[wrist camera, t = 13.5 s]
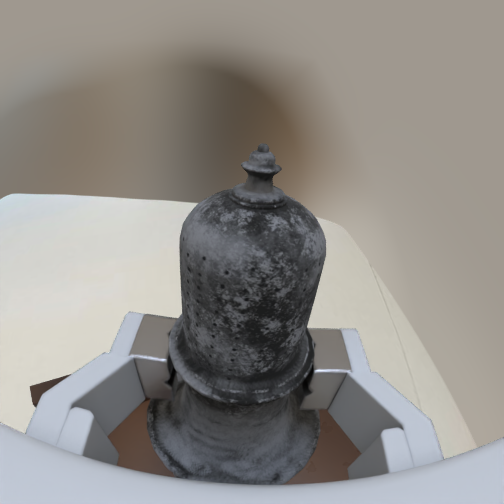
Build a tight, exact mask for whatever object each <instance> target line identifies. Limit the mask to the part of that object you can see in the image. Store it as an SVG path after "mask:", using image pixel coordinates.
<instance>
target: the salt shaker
mask: <svg viewBox="0 0 504 504" xmlns="http://www.w3.org/2000/svg"><path fill="white" fill-rule="evenodd" d="M241 166H242V167H243V169H244V170H245V171H246V172H247V173H248V178H247V181H246V183H242V184H238V185H236V186H235V187H234V188H233V189H228V190H224V191H221V192H219V193H216V194H214V195H212V196H211V197H209V198H206V199H205V200H203V201H202V202H200V203H199V204H197V205H196V207H195V208H194V209H193V210H192V211H191V213H190V214H189V215H188V216H187V218H186V220H185V221H184V223H183V226H182V230H181V235H180V275H181V296H182V314H181V315H180V317H179V318H178V319H177V321H176V322H175V323H174V325H173V328H172V330H171V333H170V336H169V353H170V357H171V360H172V363H173V365H174V368H175V370H176V371H177V372H178V373H177V378H178V385H177V390H176V395H175V400H174V401H169V400H161V399H154V398H151V399H150V402H149V405H148V408H147V431H148V434H149V437H150V440H151V443H152V446H153V449H154V451H155V452H156V454H157V455H158V456H159V458H160V459H161V461H162V462H163V463H164V465H165V466H166V467H167V468H168V469H169V470H170V471H171V472H173V474H174V476H175V478H181V479H188V480H196V481H205V482H215V483H228V484H247V485H282V484H285V483H286V482H288V481H289V480H290V479H291V478H293V477H294V476H295V475H296V474H297V473H299V472H300V471H301V470H302V469H303V468H304V467H305V465H306V464H307V462H308V461H309V459H310V458H311V456H312V455H313V453H314V452H315V450H316V446H317V443H318V439H319V435H320V416H319V411H318V410H299V403H298V394H297V390H298V387H299V386H300V385H301V384H302V383H303V381H304V380H305V378H306V377H307V375H308V374H309V372H310V371H311V367H312V364H313V360H314V356H315V353H314V343H313V339H312V337H311V335H310V332H309V330H308V328H307V324H308V321H309V317H310V314H311V310H312V307H313V303H314V299H315V296H316V292H317V288H318V284H319V281H320V277H321V273H322V269H323V265H324V261H325V257H326V240H325V236H324V233H323V230H322V228H321V226H320V224H319V223H318V221H317V219H316V218H315V216H314V215H313V214H312V213H311V212H310V211H309V210H308V209H307V208H305V207H304V206H303V205H301V204H300V203H299V202H298V201H296V200H295V199H293V198H291V197H289V196H287V195H285V194H284V192H283V191H282V190H281V189H279V188H277V187H275V186H273V181H272V178H273V176H274V175H275V174H277V173H278V172H279V171H281V167H280V166H279V165H276V164H275V156H274V155H273V154H272V153H271V152H269V147H268V145H267V144H260V145H259V146H258V150H256V151H253V152H252V153H251V154H250V156H249V161H246V162H244V163H242V164H241Z"/></svg>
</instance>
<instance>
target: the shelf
mask: <svg viewBox="0 0 504 504" xmlns="http://www.w3.org/2000/svg"><path fill="white" fill-rule="evenodd" d="M70 375H71V374H70ZM70 375H67V376H63V377H60V378H57V379H53V380H50V381H46V382H43V383H40V384H36V385H33V386H30V391H31V397H32V402H33V405H34V406H35V407H37V405H38V402H39V400H40V398H41V396H42V394H43V393H45V392H46V391H48V390H49V389H51V388H52V387H54V386H55V385H57V384H58V383H60V382H61V381H63V380H64V379H66V378H67V377H69V376H70ZM150 399H151V398H147V397H145V400H144V401H143V402H142V403H141V404H140V405H139V406H138V407H137V408H136V409H135V410H134V411H133V412H132V413H131V414H130V415H129V416H128V417H127V418H126V419H125V420H124V421H123V422H122V423H121V424H120V425H119V426H117V427H116V428H115V429H114V430H113V431H112V432H111V433H110V434H109V435H108V436H107V437H108V438H109V440H110V441H111V443H112V444H113V446H114V447H115V448H116V450H117V451H118V453H119V458H118V463H117V466H120V467H124V468H128V469H132V470H137V471H141V472H146V473H151V474H156V475H162V476H168V477H174V478H175V476H174V474H173V472H171V471H170V470H169V469H168V468H167V467H166V466H165V465H164V463H163V462H162V461H161V459H160V458H159V456H158V455H157V454H156V452H155V451H154V449H153V446H152V443H151V440H150V437H149V434H148V431H147V408H148V405H149V402H150ZM318 411H319V416H320V435H319V439H318V443H317V446H316V450H315V452H314V453H313V455H312V456H311V458H310V459H309V461H308V462H307V464H306V465H305V467H304V468H303V469H302V470H301V471H300V472H299V473H297V474H296V475H295V476H294V477H293V478H291V479H290V480H289V481H288V482H286V483H285V484H282V485H292V484H311V483H324V482H334V481H343V480H349V477H348V469H347V468H348V467H349V466H350V465H351V464H352V463H353V462H354V461H355V460H356V459H357V458H358V457H359V456H360V455H361V454H362V453H361V452H360V451H359V450H358V449H357V447H356V446H355V445H354V444H353V442H352V441H351V440H350V439H349V437H348V436H347V435H346V434H345V432H344V431H343V430H342V429H341V427H340V426H339V425H338V424H337V422H336V421H335V420H334V419H333V417H332V416H331V415H330V414H329V412H328V410H318Z"/></svg>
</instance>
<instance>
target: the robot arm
mask: <svg viewBox="0 0 504 504" xmlns="http://www.w3.org/2000/svg"><path fill="white" fill-rule="evenodd" d="M177 319H178V318H172V317H164V316H158V315H151V314H142V313H136V312H130V311H129V312H128V313H127V314H126V315H125V317H124V320H123V322H122V324H121V326H120V329H119V331H118V333H117V335H116V338H115V340H114V342H113V345H112V347H111V349H110V352H109V353H105V352H104V353H102V354H101V355H100V356H98V357H97V358H95V359H94V360H92V361H91V362H89V363H88V364H86V365H85V366H83V367H82V368H80V369H79V370H77V371H76V372H74V373H73V374H71V375H70V376H69V377H67V378H66V379H64V380H63V381H61V382H60V383H58V384H57V385H55V386H54V387H52V388H51V389H49V390H48V391H46V392H45V393H43V394H42V396H41V398H40V400H39V402H38V405H37V407H36V409H35V411H34V414H33V416H32V418H31V421H30V423H29V425H28V428H27V430H26V433H25V434H24V433H22V432H20V431H18V430H16V429H13V428H11V427H9V426H7V425H5V424H3V423H1V422H0V504H504V437H503V438H500V439H498V440H496V441H494V442H491V443H489V444H486V445H484V446H481V447H478V448H476V449H473V450H470V451H468V452H465V453H462V454H459V455H456V456H453V457H450V458H447V459H444V457H443V454H442V450H441V447H440V444H439V441H438V438H437V435H436V432H435V429H434V426H433V423H432V420H431V419H430V418H428V417H427V416H426V415H425V414H424V413H423V412H422V411H420V410H419V409H418V408H417V407H416V406H415V405H413V404H412V403H411V402H410V401H409V400H408V399H407V398H405V397H404V396H403V395H402V394H401V393H400V392H399V391H397V390H396V389H395V388H394V387H393V386H392V385H391V384H389V383H388V382H387V381H386V380H385V379H384V378H383V377H381V376H380V375H379V374H378V373H377V372H371V369H370V366H369V363H368V360H367V357H366V354H365V351H364V348H363V345H362V342H361V339H360V336H359V333H358V331H357V330H356V329H331V328H308V330H309V332H310V335H311V337H312V339H313V343H314V353H315V356H314V360H313V364H312V367H311V371H310V372H309V374H308V375H307V377H306V378H305V380H304V381H303V383H302V384H301V385H300V386H299V387H298V390H297V394H298V403H299V410H328V412H329V414H330V415H331V416H332V417H333V419H334V420H335V421H336V422H337V424H338V425H339V426H340V427H341V429H342V430H343V431H344V432H345V434H346V435H347V436H348V437H349V439H350V440H351V441H352V442H353V444H354V445H355V446H356V447H357V449H358V450H359V451H360V452H361V453H362V454H361V455H360V456H359V457H358V458H357V459H356V460H355V461H354V462H353V463H352V464H351V465H350V466H349V467H348V468H347V469H348V477H349V480H343V481H334V482H324V483H311V484H292V485H247V484H228V483H215V482H205V481H196V480H188V479H181V478H174V477H168V476H162V475H156V474H151V473H146V472H141V471H137V470H132V469H128V468H124V467H120V466H117V463H118V458H119V453H118V451H117V450H116V448H115V447H114V446H113V444H112V443H111V441H110V440H109V438H108V437H107V436H108V435H109V434H110V433H111V432H112V431H113V430H114V429H115V428H116V427H117V426H119V425H120V424H121V423H122V422H123V421H124V420H125V419H126V418H127V417H128V416H129V415H130V414H131V413H132V412H133V411H134V410H135V409H136V408H137V407H138V406H139V405H140V404H141V403H142V402H143V401H144V400H145V397H147V398H154V399H161V400H169V401H174V400H175V395H176V390H177V385H178V378H177V373H178V372H177V371H176V370H175V368H174V365H173V363H172V360H171V357H170V353H169V336H170V333H171V330H172V328H173V325H174V323H175V322H176V321H177Z"/></svg>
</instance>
